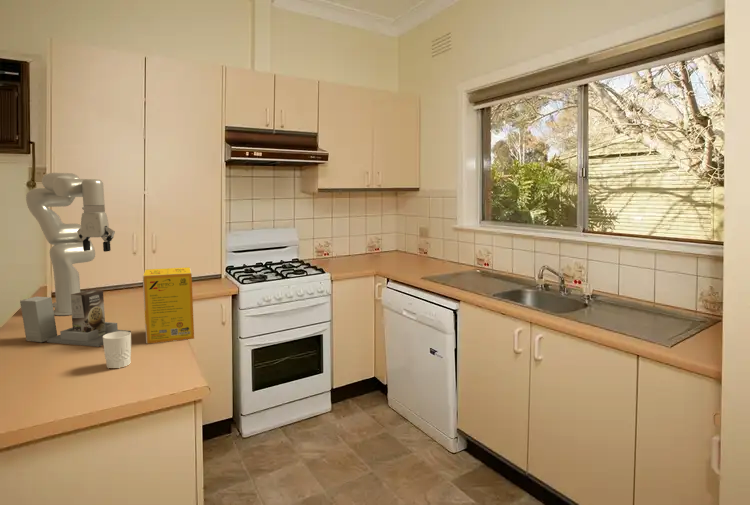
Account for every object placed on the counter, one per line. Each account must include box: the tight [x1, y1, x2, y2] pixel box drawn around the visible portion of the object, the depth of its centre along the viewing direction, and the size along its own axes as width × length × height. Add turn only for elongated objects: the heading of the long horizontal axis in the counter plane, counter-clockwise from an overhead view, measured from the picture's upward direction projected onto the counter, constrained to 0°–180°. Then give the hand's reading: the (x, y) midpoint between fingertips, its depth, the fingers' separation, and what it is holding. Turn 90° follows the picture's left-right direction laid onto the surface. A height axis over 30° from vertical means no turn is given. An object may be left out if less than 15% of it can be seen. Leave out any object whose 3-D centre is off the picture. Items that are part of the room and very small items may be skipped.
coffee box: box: [71, 289, 106, 334], centre depth 175 cm, size 9×6×16 cm
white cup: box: [102, 330, 132, 369], centre depth 148 cm, size 8×8×10 cm
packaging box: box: [142, 266, 195, 344], centre depth 179 cm, size 16×16×25 cm
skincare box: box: [19, 296, 58, 343], centre depth 172 cm, size 8×7×16 cm
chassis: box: [46, 321, 132, 347], centre depth 176 cm, size 22×16×4 cm
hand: (97, 250), depth 194 cm, fingers open, 9 cm apart
